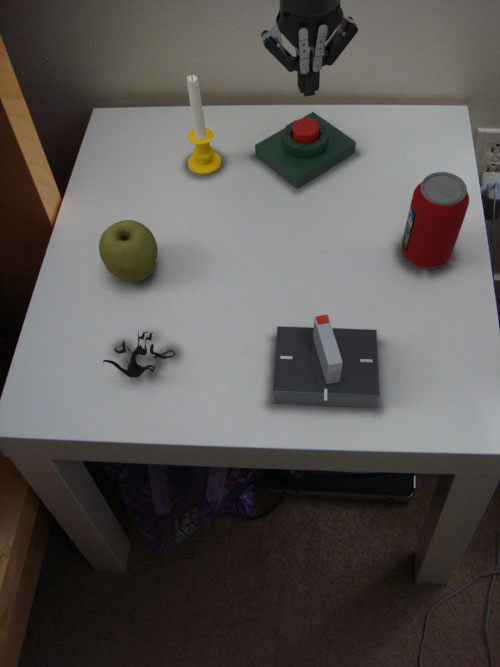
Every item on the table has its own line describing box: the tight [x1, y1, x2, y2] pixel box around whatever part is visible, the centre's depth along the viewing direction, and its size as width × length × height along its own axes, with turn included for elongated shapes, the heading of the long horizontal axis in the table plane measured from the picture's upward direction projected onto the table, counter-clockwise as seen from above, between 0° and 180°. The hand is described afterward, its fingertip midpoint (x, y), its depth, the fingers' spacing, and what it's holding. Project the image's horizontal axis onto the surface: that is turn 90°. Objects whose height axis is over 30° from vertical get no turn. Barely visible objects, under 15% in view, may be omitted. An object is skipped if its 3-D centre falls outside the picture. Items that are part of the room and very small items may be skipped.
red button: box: [292, 117, 319, 144], centre depth 90 cm, size 4×4×2 cm
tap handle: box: [313, 314, 343, 384], centre depth 68 cm, size 6×2×5 cm, turn 11°
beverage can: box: [400, 171, 470, 269], centre depth 77 cm, size 7×7×12 cm
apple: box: [98, 219, 159, 283], centre depth 80 cm, size 8×8×7 cm
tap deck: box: [272, 325, 380, 409], centre depth 71 cm, size 12×11×3 cm
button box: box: [254, 111, 357, 190], centre depth 92 cm, size 12×10×4 cm
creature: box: [102, 329, 176, 379], centre depth 73 cm, size 8×5×8 cm
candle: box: [186, 74, 222, 176], centre depth 88 cm, size 5×5×16 cm
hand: (308, 92), depth 85 cm, fingers closed
